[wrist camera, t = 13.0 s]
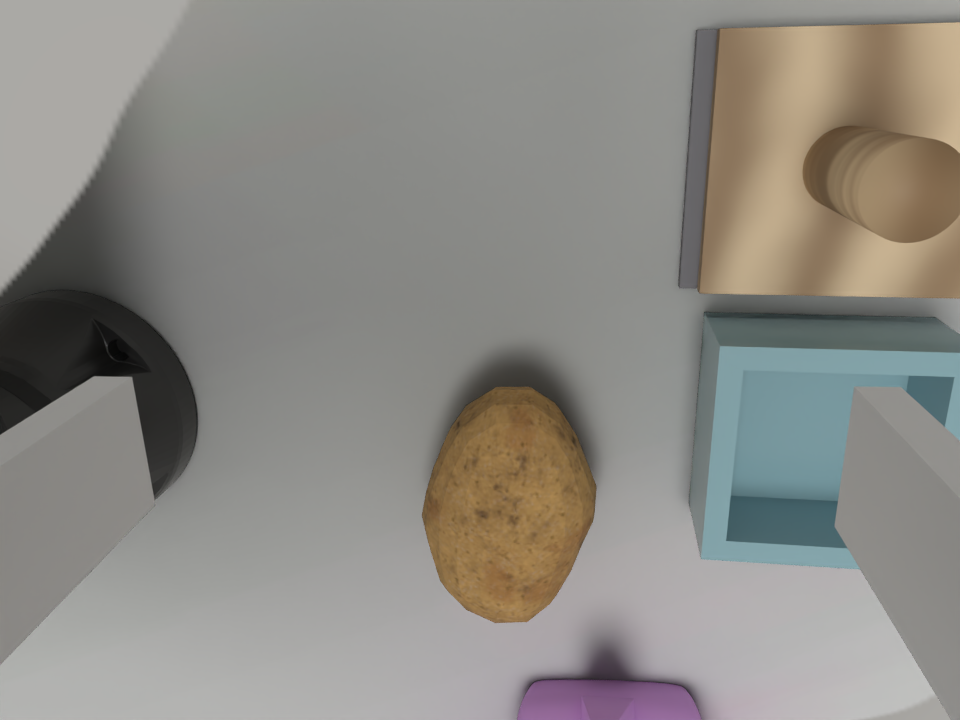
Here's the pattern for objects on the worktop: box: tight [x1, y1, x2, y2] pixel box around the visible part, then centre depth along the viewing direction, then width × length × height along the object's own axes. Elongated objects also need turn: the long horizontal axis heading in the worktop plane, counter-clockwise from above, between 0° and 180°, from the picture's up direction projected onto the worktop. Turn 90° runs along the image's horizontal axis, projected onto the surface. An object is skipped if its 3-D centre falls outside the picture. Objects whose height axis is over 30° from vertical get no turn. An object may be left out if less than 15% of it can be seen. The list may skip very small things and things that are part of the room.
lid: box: [697, 22, 960, 298], centre depth 35 cm, size 13×13×10 cm
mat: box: [678, 29, 718, 288], centre depth 40 cm, size 15×13×1 cm
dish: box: [689, 312, 960, 569], centre depth 42 cm, size 12×12×6 cm
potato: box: [422, 387, 596, 623], centre depth 45 cm, size 10×14×8 cm
